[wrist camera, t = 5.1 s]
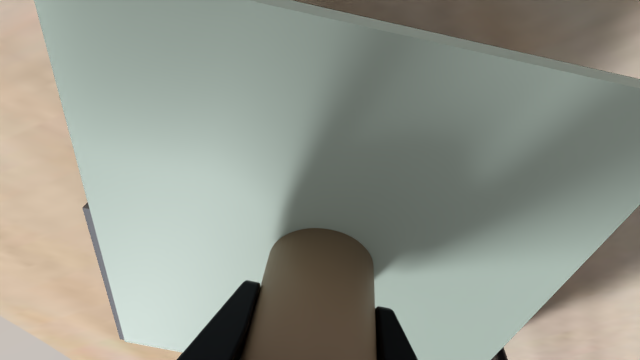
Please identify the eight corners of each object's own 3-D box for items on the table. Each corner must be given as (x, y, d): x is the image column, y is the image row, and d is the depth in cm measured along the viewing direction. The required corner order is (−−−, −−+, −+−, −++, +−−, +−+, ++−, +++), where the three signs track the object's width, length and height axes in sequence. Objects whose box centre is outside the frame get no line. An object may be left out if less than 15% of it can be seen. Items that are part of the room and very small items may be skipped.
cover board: (698, 92, 7) (1187, 340, 3) (445, 382, 15) (479, 567, 11) (53, -54, 7) (-478, -12, 2) (135, 322, 14) (40, 491, 10)
